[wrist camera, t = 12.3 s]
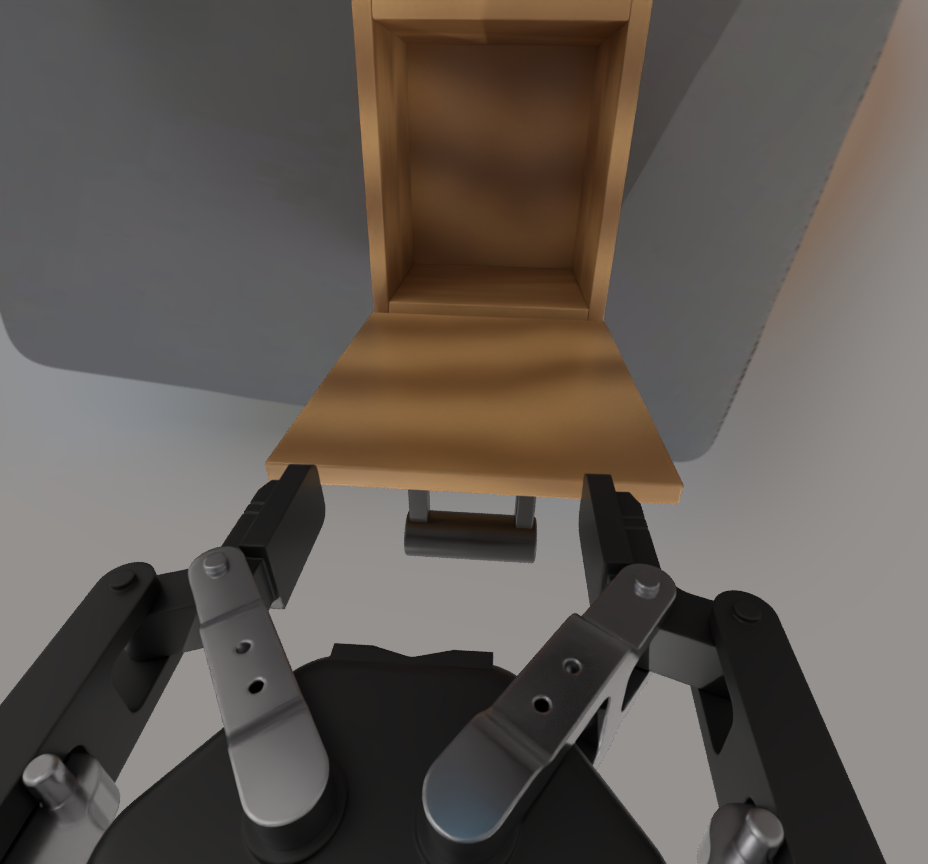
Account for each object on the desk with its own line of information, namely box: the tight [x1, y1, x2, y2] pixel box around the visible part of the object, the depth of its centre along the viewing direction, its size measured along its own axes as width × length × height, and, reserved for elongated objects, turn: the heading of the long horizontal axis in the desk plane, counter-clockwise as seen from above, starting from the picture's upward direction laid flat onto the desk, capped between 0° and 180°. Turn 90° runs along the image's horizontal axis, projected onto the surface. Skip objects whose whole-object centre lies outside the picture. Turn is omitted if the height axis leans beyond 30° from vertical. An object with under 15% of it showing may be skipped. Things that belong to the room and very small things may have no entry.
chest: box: [351, 0, 653, 321], centre depth 32 cm, size 15×13×10 cm
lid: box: [265, 312, 684, 563], centre depth 25 cm, size 16×13×5 cm
